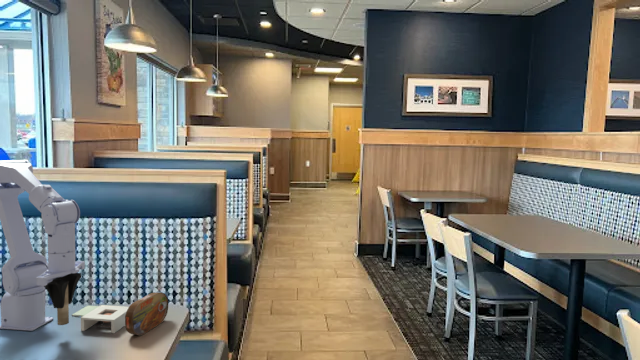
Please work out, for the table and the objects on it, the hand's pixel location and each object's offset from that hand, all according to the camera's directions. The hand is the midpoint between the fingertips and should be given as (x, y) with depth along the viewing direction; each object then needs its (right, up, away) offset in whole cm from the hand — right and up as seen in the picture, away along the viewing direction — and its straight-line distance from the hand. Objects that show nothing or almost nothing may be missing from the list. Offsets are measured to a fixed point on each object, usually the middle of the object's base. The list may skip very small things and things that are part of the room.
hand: (62, 305), depth 109 cm
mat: (-2, -7, +17) cm, 19 cm away
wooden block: (0, -4, 0) cm, 4 cm away
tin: (+18, -8, +8) cm, 21 cm away
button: (+7, -6, +9) cm, 13 cm away
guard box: (+7, -8, +9) cm, 14 cm away
